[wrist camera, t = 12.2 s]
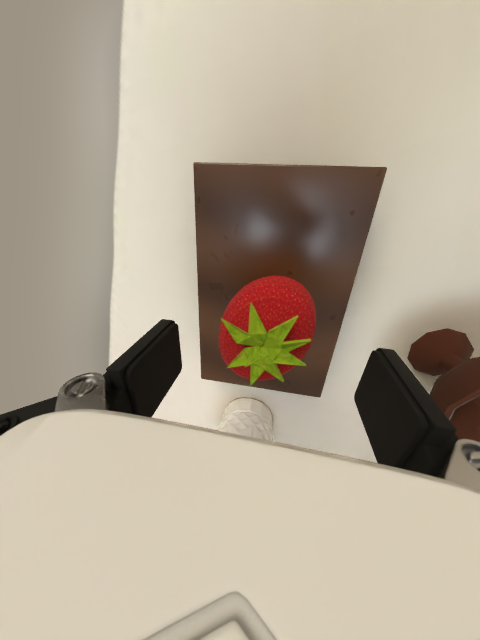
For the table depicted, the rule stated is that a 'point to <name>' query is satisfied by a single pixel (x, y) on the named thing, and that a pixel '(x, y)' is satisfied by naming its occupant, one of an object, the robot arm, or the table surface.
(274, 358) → the strawberry
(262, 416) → the white cup
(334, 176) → the panel
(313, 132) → the table surface
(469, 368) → the ice cream bowl
